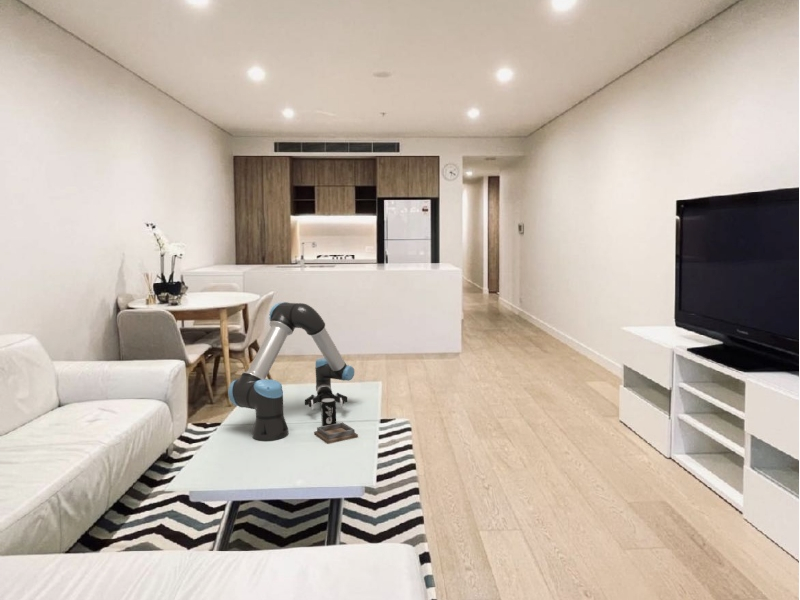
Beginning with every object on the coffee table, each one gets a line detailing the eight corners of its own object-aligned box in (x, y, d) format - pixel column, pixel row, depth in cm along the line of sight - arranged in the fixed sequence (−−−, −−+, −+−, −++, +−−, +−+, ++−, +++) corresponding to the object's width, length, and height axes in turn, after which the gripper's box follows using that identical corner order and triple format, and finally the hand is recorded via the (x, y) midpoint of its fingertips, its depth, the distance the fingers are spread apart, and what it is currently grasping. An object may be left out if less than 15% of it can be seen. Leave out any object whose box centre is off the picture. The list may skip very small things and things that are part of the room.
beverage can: (339, 425, 257) (338, 399, 255) (328, 429, 252) (327, 402, 251) (329, 422, 261) (328, 397, 260) (318, 426, 256) (317, 400, 255)
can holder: (327, 443, 233) (326, 436, 233) (314, 434, 245) (313, 427, 245) (357, 437, 240) (357, 429, 240) (343, 428, 252) (343, 421, 252)
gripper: (349, 399, 289) (354, 411, 268) (299, 402, 284) (300, 415, 263) (349, 384, 288) (353, 395, 267) (299, 388, 283) (299, 399, 263)
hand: (327, 405), depth 265 cm, fingers open, 13 cm apart
